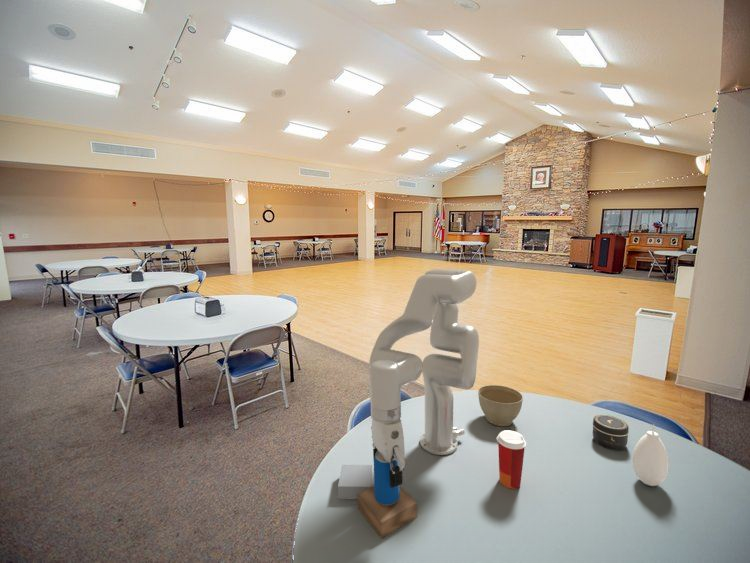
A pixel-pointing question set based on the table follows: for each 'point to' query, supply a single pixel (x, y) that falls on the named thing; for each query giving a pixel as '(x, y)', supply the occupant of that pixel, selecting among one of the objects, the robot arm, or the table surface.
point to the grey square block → (354, 480)
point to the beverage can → (384, 481)
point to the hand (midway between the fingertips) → (387, 472)
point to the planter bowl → (500, 404)
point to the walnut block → (387, 511)
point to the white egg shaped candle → (650, 459)
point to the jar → (610, 432)
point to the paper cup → (510, 458)
